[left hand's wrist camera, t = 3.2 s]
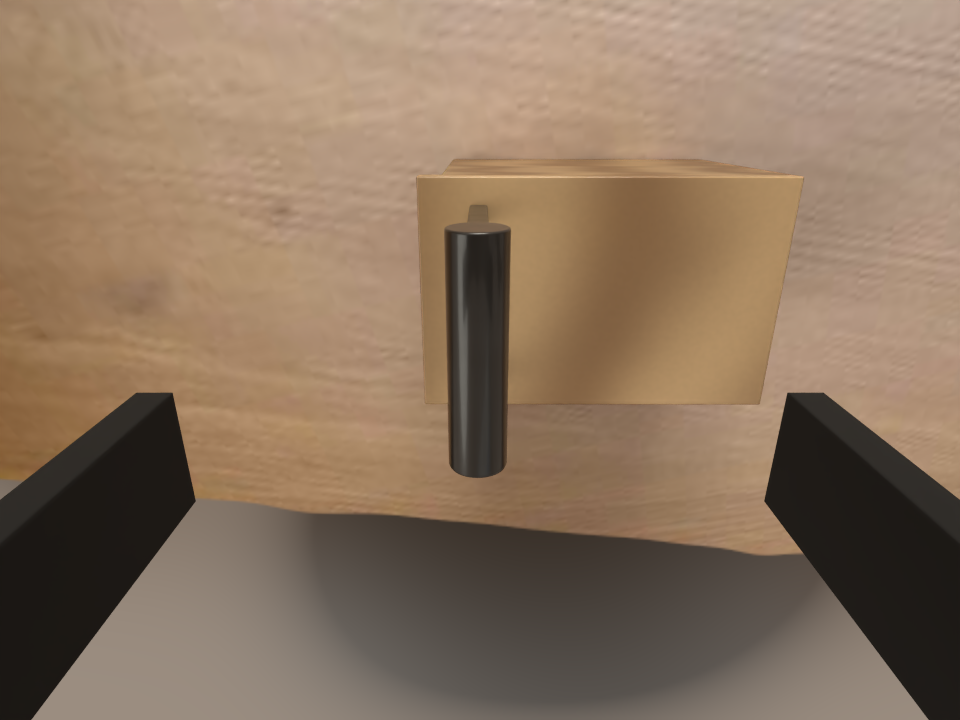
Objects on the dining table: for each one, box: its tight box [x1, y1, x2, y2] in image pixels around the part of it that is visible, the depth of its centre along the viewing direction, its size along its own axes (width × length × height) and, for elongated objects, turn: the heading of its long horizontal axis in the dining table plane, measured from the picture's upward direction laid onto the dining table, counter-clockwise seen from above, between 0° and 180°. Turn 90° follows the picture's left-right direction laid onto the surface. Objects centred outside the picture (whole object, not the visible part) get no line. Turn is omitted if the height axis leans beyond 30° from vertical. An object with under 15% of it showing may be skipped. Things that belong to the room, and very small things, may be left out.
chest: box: [442, 160, 790, 175], centre depth 30 cm, size 14×10×10 cm
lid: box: [416, 175, 804, 478], centre depth 21 cm, size 15×10×8 cm, turn 90°
